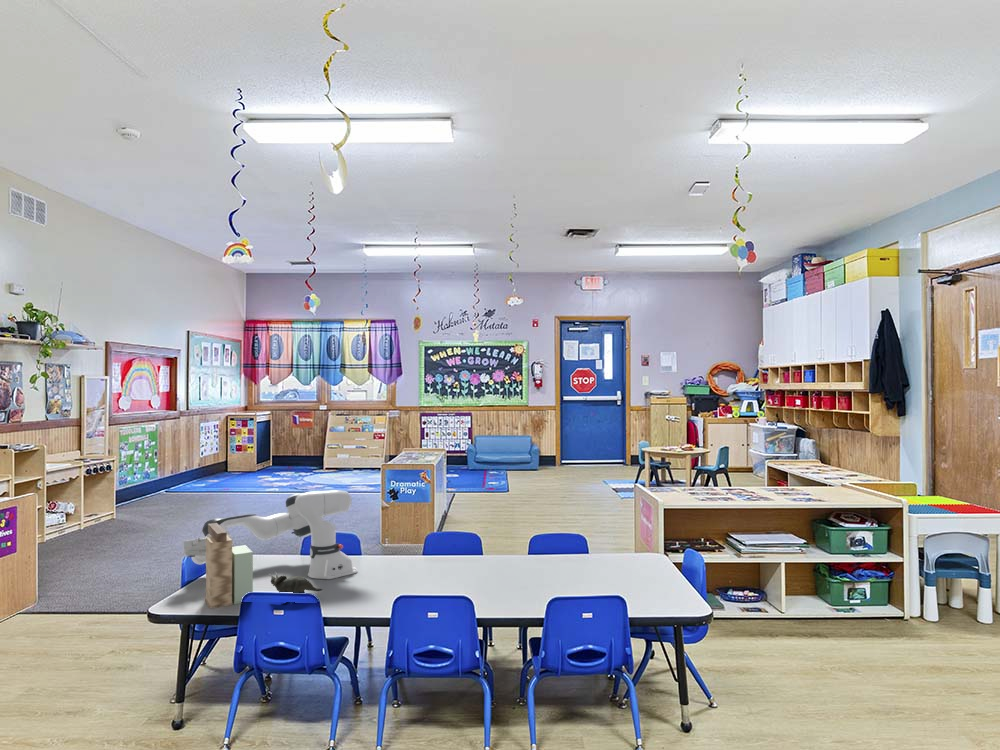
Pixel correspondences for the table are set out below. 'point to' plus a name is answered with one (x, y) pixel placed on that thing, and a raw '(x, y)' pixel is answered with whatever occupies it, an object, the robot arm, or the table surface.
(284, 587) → the dinosaur figurine
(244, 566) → the pale green upright block
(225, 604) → the stand
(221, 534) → the bar
